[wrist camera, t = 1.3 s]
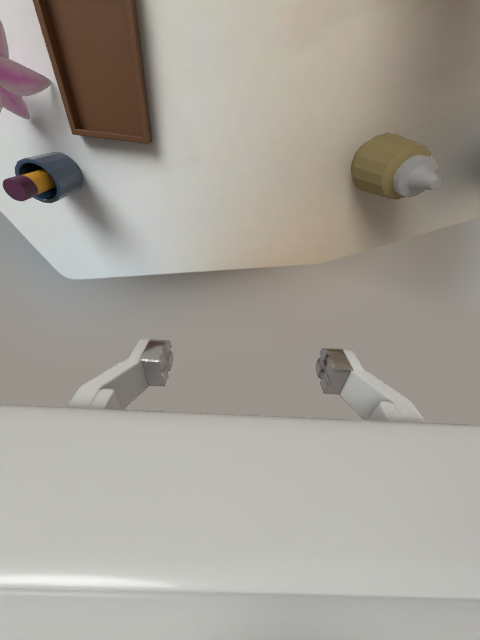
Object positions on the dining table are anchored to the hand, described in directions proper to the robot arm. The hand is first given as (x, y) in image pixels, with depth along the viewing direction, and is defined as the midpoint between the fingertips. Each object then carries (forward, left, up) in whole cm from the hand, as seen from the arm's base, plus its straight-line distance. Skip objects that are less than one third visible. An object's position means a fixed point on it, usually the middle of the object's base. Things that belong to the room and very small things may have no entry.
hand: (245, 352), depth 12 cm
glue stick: (+1, -30, -40) cm, 49 cm away
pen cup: (+1, -30, -40) cm, 50 cm away
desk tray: (-13, -20, -40) cm, 47 cm away
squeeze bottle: (-6, +23, -40) cm, 47 cm away
